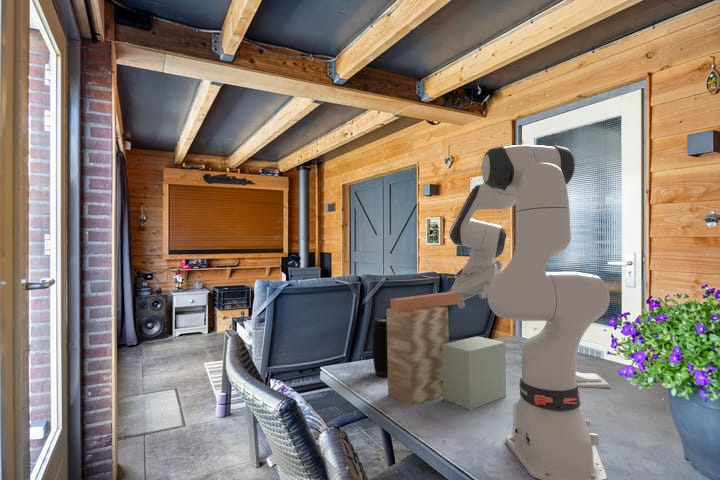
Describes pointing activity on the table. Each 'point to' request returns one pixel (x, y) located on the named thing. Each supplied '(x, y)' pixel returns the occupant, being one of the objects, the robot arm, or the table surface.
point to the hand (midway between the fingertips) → (471, 302)
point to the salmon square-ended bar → (424, 301)
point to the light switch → (590, 380)
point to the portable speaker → (380, 346)
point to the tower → (416, 353)
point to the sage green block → (473, 371)
